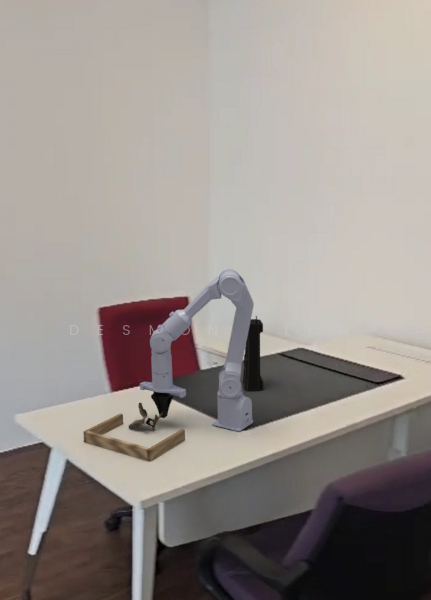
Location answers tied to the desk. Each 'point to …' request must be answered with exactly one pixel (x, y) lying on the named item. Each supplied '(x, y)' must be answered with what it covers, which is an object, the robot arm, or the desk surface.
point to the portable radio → (253, 357)
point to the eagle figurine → (145, 418)
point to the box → (149, 454)
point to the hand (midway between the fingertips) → (163, 416)
